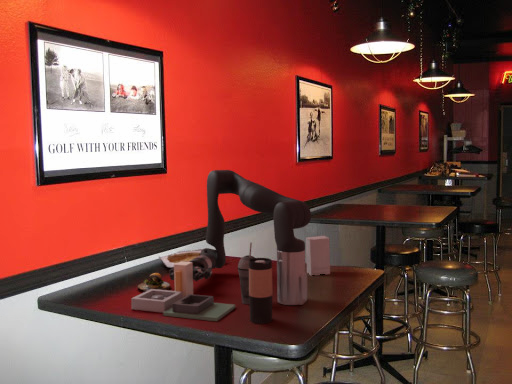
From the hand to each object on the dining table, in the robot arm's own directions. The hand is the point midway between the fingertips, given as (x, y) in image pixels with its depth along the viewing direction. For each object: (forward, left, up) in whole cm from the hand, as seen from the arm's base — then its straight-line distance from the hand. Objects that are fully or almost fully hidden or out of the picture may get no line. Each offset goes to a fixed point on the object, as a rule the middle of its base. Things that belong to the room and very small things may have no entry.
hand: (183, 277), depth 182 cm
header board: (-12, +12, -7) cm, 18 cm away
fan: (+2, +7, -7) cm, 10 cm away
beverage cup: (-23, -2, -7) cm, 24 cm away
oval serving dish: (+22, -47, -7) cm, 52 cm away
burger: (+16, -7, -8) cm, 19 cm away
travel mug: (-33, +14, -7) cm, 37 cm away
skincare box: (-35, -47, -7) cm, 59 cm away
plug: (0, 0, -7) cm, 7 cm away
